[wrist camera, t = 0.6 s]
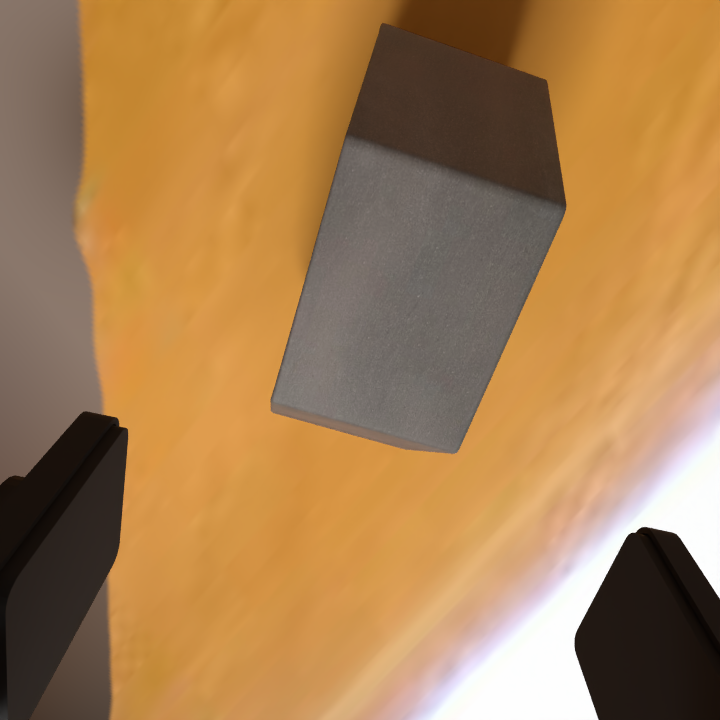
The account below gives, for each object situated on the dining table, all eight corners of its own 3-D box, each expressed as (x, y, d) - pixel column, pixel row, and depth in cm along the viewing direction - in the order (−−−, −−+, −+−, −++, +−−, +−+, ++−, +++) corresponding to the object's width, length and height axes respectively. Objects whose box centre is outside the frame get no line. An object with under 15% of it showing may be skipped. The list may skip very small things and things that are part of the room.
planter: (387, 448, 39) (511, 460, 19) (270, 415, 38) (269, 391, 18) (450, 206, 42) (617, -11, 22) (342, 171, 41) (410, -88, 21)
